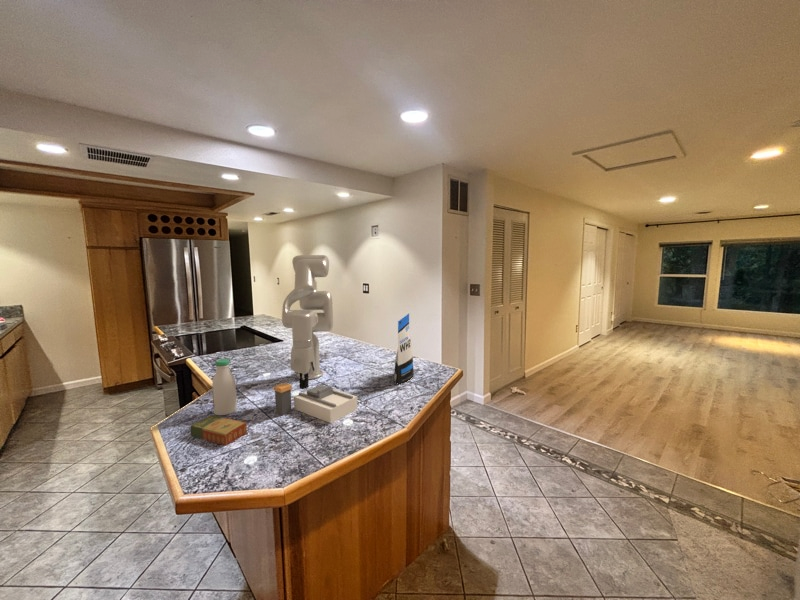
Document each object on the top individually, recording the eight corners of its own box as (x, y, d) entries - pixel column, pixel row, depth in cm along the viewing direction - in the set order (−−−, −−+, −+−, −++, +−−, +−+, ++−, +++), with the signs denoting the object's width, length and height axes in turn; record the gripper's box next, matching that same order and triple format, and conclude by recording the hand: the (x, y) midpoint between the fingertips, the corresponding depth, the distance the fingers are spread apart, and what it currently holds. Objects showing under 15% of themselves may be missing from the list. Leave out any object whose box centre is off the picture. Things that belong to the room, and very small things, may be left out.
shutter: (307, 395, 127) (306, 387, 127) (320, 389, 133) (320, 382, 132) (319, 399, 123) (319, 391, 123) (333, 393, 129) (332, 386, 129)
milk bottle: (241, 408, 127) (238, 358, 125) (225, 417, 120) (221, 364, 118) (226, 405, 130) (223, 356, 127) (209, 414, 122) (205, 362, 120)
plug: (274, 413, 123) (273, 386, 122) (285, 408, 127) (284, 382, 126) (282, 416, 121) (281, 388, 120) (292, 411, 125) (291, 385, 123)
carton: (226, 447, 101) (225, 434, 101) (190, 437, 107) (189, 424, 107) (247, 433, 109) (246, 421, 109) (213, 425, 115) (212, 413, 114)
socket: (294, 409, 127) (293, 394, 126) (321, 396, 138) (321, 383, 138) (330, 423, 116) (330, 407, 115) (357, 408, 127) (357, 394, 126)
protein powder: (388, 384, 152) (388, 321, 148) (400, 368, 175) (400, 313, 172) (408, 386, 150) (408, 321, 146) (417, 369, 173) (418, 313, 170)
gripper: (282, 342, 132) (284, 386, 134) (307, 348, 124) (309, 395, 126) (298, 339, 138) (299, 381, 140) (322, 344, 130) (323, 388, 132)
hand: (304, 387), depth 133 cm, fingers closed
